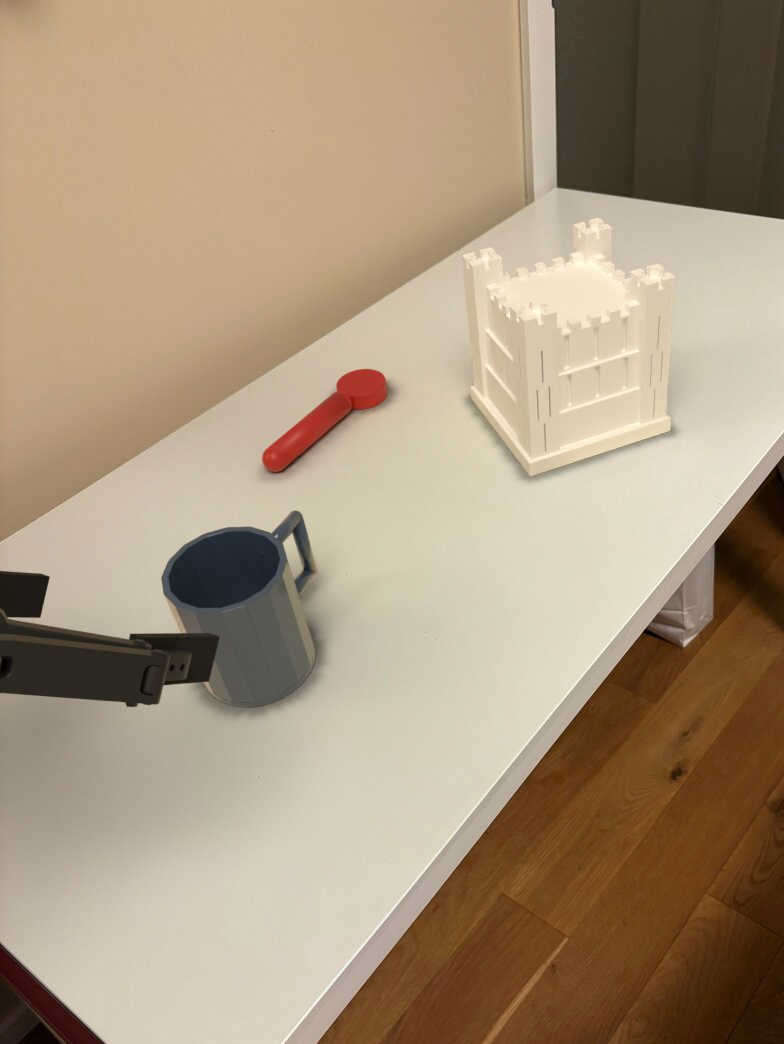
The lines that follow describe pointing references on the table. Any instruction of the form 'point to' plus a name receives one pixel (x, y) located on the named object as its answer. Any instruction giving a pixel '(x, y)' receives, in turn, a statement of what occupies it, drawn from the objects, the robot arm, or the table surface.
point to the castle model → (570, 351)
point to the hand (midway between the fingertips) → (121, 625)
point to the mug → (246, 608)
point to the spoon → (327, 416)
